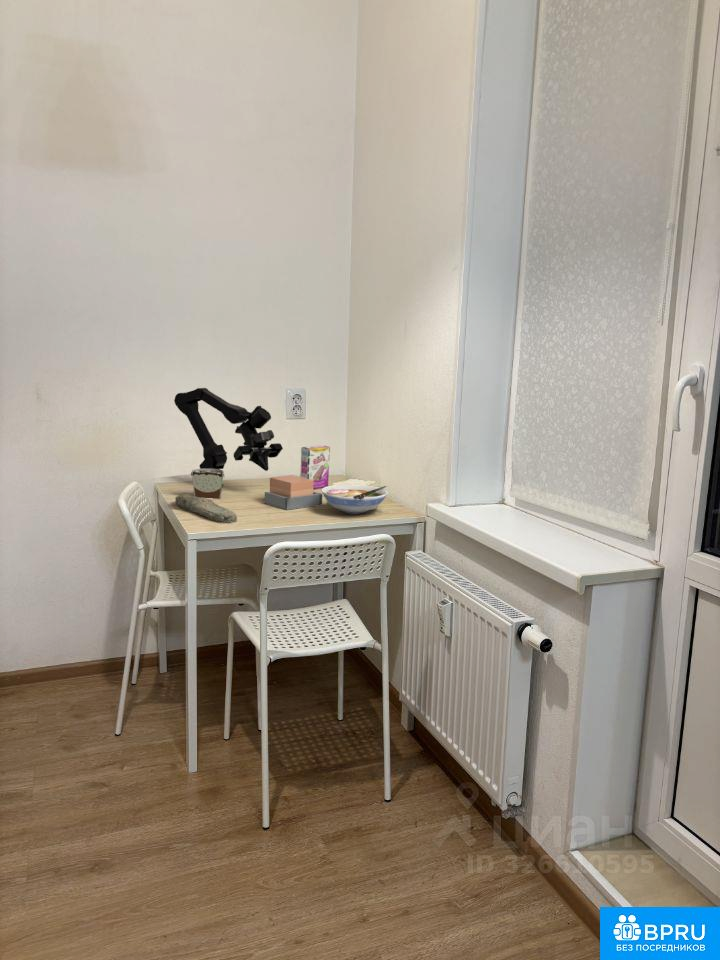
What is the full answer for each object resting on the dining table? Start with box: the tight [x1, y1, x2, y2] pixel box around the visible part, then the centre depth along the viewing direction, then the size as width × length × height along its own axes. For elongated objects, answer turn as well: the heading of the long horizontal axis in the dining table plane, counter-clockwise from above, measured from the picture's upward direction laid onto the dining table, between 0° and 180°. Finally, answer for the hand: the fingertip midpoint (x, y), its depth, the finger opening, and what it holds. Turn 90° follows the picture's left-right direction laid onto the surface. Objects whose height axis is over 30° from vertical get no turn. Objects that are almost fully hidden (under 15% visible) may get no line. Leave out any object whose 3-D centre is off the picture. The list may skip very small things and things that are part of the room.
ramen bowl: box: [320, 484, 389, 515], centre depth 265 cm, size 25×23×8 cm
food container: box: [190, 468, 226, 500], centre depth 281 cm, size 12×6×10 cm, turn 84°
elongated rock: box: [174, 493, 238, 524], centre depth 257 cm, size 35×5×10 cm
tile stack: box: [269, 474, 314, 498], centre depth 275 cm, size 12×10×9 cm
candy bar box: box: [299, 445, 331, 490], centre depth 304 cm, size 11×5×16 cm, turn 136°
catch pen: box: [264, 490, 323, 511], centre depth 274 cm, size 13×15×4 cm
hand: (267, 470), depth 284 cm, fingers closed
